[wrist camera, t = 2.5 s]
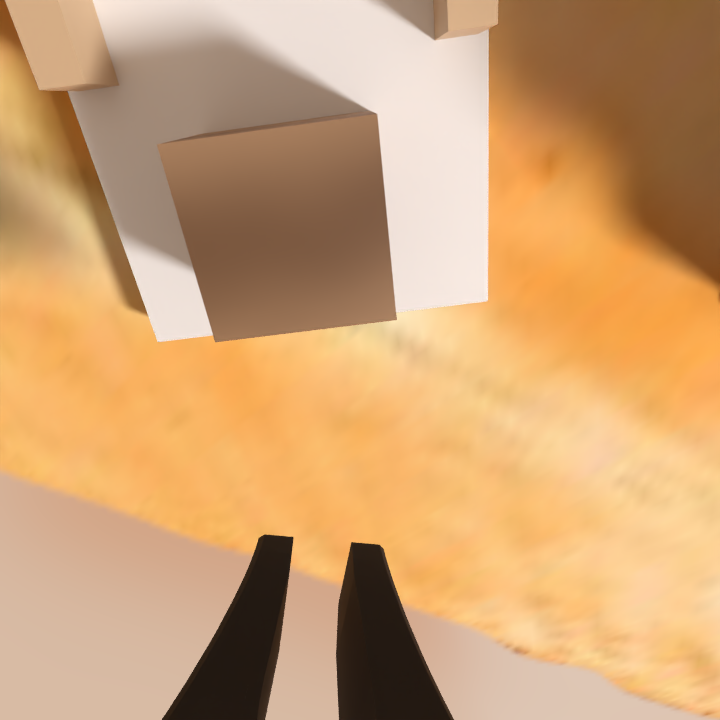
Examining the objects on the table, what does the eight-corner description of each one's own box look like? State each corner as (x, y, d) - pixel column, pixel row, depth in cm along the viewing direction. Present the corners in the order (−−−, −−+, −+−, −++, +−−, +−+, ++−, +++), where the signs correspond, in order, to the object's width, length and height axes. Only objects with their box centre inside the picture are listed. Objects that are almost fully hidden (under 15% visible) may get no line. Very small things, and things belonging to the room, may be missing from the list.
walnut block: (385, 273, 17) (396, 320, 13) (242, 291, 17) (215, 342, 13) (369, 110, 14) (377, 114, 11) (202, 133, 14) (156, 144, 11)
